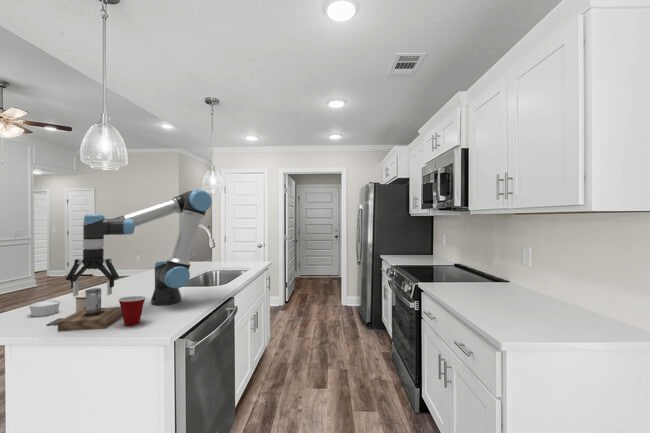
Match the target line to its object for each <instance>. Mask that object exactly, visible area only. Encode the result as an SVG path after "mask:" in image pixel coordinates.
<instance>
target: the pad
mask: <svg viewBox="0 0 650 433" xmlns="http://www.w3.org/2000/svg"><path fill="white" fill-rule="evenodd" d="M64 318H65V317H61V318H60V317H59V318H57V319H55V320H53V321H51V322H49V323H47V324H46V327H51V326H50V325H53V326H58V321H60V320H62V319H64Z"/></svg>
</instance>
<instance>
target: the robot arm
mask: <svg viewBox="0 0 650 433" xmlns="http://www.w3.org/2000/svg"><path fill="white" fill-rule="evenodd" d="M212 203H213V202H212V197H211V195H210V194H209V192H207V191H206V190H202V189H195V190H188V191H186V192H184V193H181V194H179V195H177V196H173V197H171V199H170V200H167V201H164V202H160V203H158V204H155V205H151V206H148V207H145V208H142V209H139V210H136V211H132V212H130V213H126V214H123V215H120V216H117V217H113V218H106V217H105V214H85V215H84V217H83V224H82V226H83V229H82V234H83V235H82V236H83V239H82V248H83V249H82V259H81V258H77V259H76V258H75V259H74V262H73V266H72V267H71V269H70V271H69V272H68V274H67V276H66V277H65V281H70V289H71V290H72V297H76V296H77V295H79V283H80V281H79V280H78V279H79V278H80V277H81V276H82V275H83V274H84V272H86V271H87V270H99V271H100V272H101V273H102V274H103V275H104V276H105V277H106V278H107V279H108V280H107V281H106V296H111V295H112V294H113V293H112V292H113V288H114V287H115V280H117V279H119V277H120V276H119V274H118V273H117V270H116V269H115V266H114V265H113V263H112V262H113V261H112V258H104V251H105V249H104V246H105V244H104V243H105V242H104V241H105V240H104V239H105V236H109V235H110V236H111V235H113V236H117V235H118V236H119V235H120V236H121V235H124V236H126V235H133V234H134V232H135V228H136V227H138V226H141V225H144V224H147V223H151V222H153V221H156V220H159V219H162V218H165V217H167V216H170V215H173V214H181V213H183V214H184V216H183V217H182V218H183V219H182V222H181V226H180V229H179V231H178V235H177V239H176V241H175V245H174V248H173V251H172V255H171V257H170V258H168V259H167V260H163V261H157V262H155V264H154V290H153V293H152V296H151V298H150V304H151V305H153V306H167V305H172V304H173V305H174V304H177V303H179V302H181V301H182V294H181V291H180V289H181V288H182V287H185V286H186V285H187V284H188V283H189V281H190V280H191V272H190V267H191V263H190V262H189V260H190V256H191V253H192V250H193V246H194V243H195V240H196V236H197V232H198V229H199V226H200V223H201V219H202V218H204V217H205V216H206V213H207V211H208V210H209V209H210V208H211V206H212ZM81 264H83V265H82V266H81ZM104 264H105V265H104ZM80 266H81V268H80V269H79V267H80ZM106 267H107V268H106ZM78 269H79V270H78ZM77 270H78V272H77ZM76 272H77V273H76Z"/></svg>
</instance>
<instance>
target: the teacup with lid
mask: <svg viewBox="0 0 650 433" xmlns="http://www.w3.org/2000/svg"><path fill="white" fill-rule="evenodd" d="M86 290H88V288H87V289H84V290H83V292H80V293H78V295H77V296H74V298H75V313H76V312H78V311H80V310H81V309H86Z"/></svg>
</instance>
